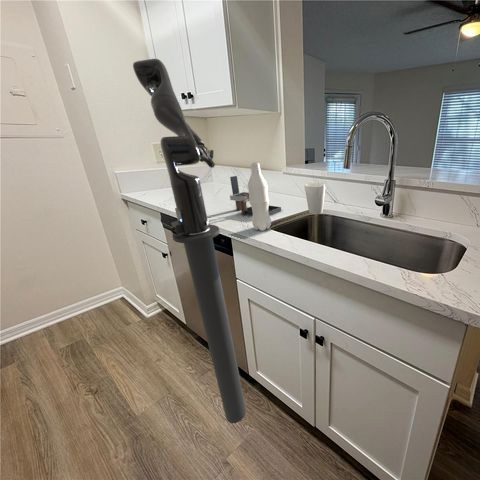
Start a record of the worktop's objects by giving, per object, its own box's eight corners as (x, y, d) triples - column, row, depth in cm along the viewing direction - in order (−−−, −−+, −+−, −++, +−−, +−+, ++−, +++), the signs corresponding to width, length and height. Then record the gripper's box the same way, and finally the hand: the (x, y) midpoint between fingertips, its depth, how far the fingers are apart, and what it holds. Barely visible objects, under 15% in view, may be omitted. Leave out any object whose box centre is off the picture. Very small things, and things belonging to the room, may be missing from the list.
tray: (281, 210, 125) (281, 207, 124) (264, 217, 115) (264, 213, 115) (259, 207, 131) (258, 203, 131) (241, 213, 122) (241, 209, 121)
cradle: (265, 207, 131) (264, 194, 128) (244, 215, 119) (242, 200, 117) (250, 205, 136) (248, 192, 133) (229, 212, 124) (226, 198, 121)
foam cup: (307, 216, 116) (306, 187, 111) (304, 210, 125) (303, 183, 119) (328, 214, 118) (327, 185, 113) (323, 209, 126) (323, 182, 121)
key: (250, 197, 126) (249, 196, 126) (247, 198, 124) (247, 197, 124) (242, 196, 128) (242, 195, 128) (239, 197, 126) (239, 196, 126)
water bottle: (260, 233, 98) (252, 164, 88) (249, 229, 102) (240, 163, 92) (275, 227, 103) (269, 162, 93) (264, 224, 107) (257, 161, 97)
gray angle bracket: (262, 197, 128) (259, 175, 124) (245, 203, 119) (242, 179, 115) (244, 195, 133) (241, 174, 129) (227, 200, 124) (223, 178, 120)
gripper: (200, 145, 137) (220, 170, 136) (177, 146, 127) (199, 173, 126) (205, 134, 133) (226, 159, 132) (182, 134, 122) (204, 162, 121)
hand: (213, 166), depth 129 cm, fingers closed
